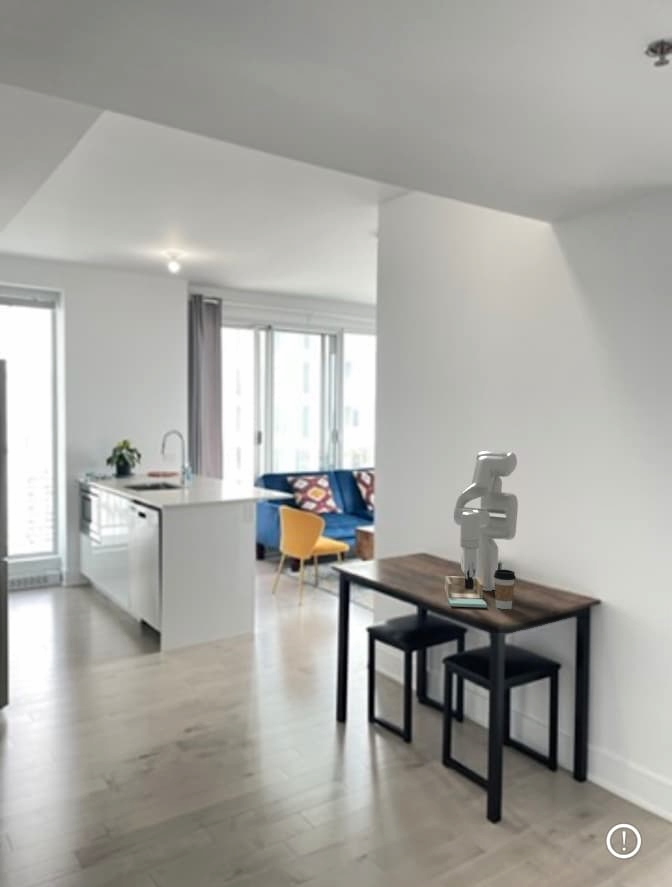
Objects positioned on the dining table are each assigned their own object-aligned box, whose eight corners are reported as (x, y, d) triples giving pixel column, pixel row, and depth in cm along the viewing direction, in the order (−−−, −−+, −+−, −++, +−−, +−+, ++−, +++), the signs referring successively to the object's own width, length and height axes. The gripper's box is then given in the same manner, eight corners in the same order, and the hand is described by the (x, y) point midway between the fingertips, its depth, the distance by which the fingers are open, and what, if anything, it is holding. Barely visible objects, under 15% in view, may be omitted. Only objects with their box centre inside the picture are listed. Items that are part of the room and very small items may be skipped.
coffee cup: (496, 611, 262) (497, 573, 262) (490, 604, 271) (491, 568, 270) (517, 611, 263) (518, 573, 262) (510, 605, 271) (512, 568, 270)
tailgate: (483, 599, 274) (486, 604, 265) (483, 602, 274) (486, 607, 265) (448, 598, 275) (450, 603, 266) (448, 601, 275) (450, 606, 266)
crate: (478, 593, 287) (478, 577, 287) (482, 601, 275) (483, 584, 275) (444, 592, 288) (445, 576, 288) (447, 600, 276) (448, 583, 276)
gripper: (458, 538, 274) (457, 582, 276) (462, 547, 259) (461, 594, 261) (476, 538, 274) (475, 583, 275) (482, 547, 259) (481, 594, 260)
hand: (469, 588), depth 268 cm, fingers closed
